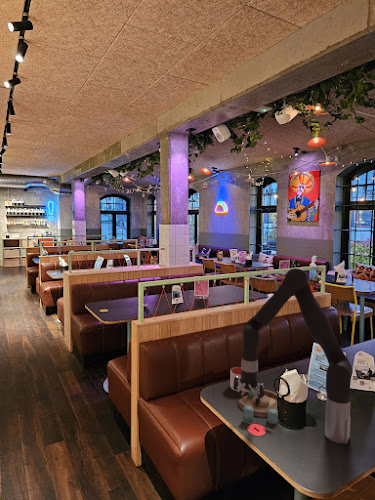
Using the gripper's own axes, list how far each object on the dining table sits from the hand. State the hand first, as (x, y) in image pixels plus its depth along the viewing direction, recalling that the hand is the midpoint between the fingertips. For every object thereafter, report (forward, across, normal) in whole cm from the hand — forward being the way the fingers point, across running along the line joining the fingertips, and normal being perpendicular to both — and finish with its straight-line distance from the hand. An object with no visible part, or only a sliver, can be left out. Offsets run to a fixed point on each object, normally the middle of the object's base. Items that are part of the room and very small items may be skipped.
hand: (248, 401), depth 158 cm
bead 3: (+8, -10, -4) cm, 14 cm away
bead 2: (+8, 0, 0) cm, 9 cm away
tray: (+8, 0, -15) cm, 17 cm away
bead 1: (+8, +6, -18) cm, 20 cm away
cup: (+9, +16, -24) cm, 30 cm away
